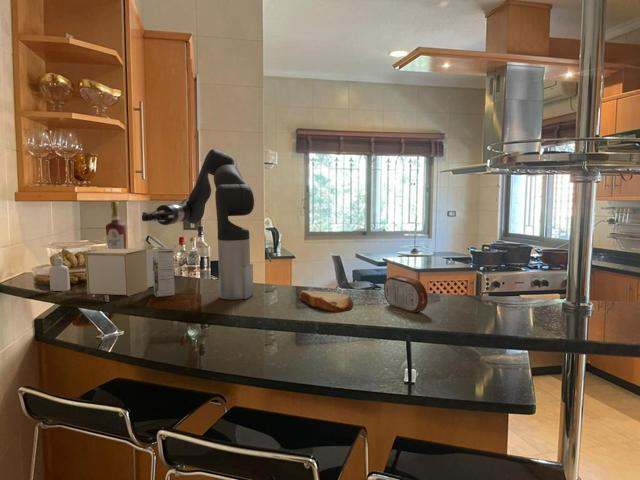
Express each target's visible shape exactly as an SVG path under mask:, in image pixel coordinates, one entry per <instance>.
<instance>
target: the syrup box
mask: <svg viewBox="0 0 640 480" xmlns="http://www.w3.org/2000/svg"><path fill="white" fill-rule="evenodd" d="M152 249H153V284H154V286H153V294H154V296H155V297H156V298H162V297H169V296H175V294H176V292H175V289H176V288H175V262H174V261H175V260H174V257H175V256H174V248H172V247H171V246H157V247H152Z"/></svg>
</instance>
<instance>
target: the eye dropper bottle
mask: <svg viewBox="0 0 640 480" xmlns="http://www.w3.org/2000/svg"><path fill="white" fill-rule="evenodd" d="M63 258H64V257H63ZM63 258H62V257H61V256H60V254H59V253H56V257H55V258H54V259H53V264H54V265H53V266H51V267H49V269H48V270H49V271H48V272H49V274H48V275H49V276H48V277H49V287H50V288H49V289H50V291H51V290H53V291H62V292H69V291H70V290H71V282H70V279H71V278H70V270H69V267H68V266H66V265H64V261H63Z"/></svg>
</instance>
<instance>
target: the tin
mask: <svg viewBox="0 0 640 480" xmlns="http://www.w3.org/2000/svg"><path fill="white" fill-rule="evenodd" d="M383 291H384V297H385V300H386V301H387V303H388V304H389V305H390V306H391V307H393V308H396V309H399V310H403V311H405V312H408V313H413V314H414V313H418V312H419V313H420V312H423V311H424V310H425V309H426V308H427V306H428V301H429V300H428V299H429V298H428V292H427V290H426V287H425V285H424V284H423V283H422V282H421V281H419V280H418V279H414V278H411V277H407V276H403V275H398V274H396V275H394V276H393V275H392V276H389V277H387V278H386V279H385V281H384V283H383Z"/></svg>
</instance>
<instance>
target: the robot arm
mask: <svg viewBox="0 0 640 480" xmlns="http://www.w3.org/2000/svg"><path fill="white" fill-rule="evenodd" d="M209 175H211V176H213V183H214V186H215V187H214V188H215V192H214V193H215V197H214V198H215V209H216V220H217V221H216V222H217V223H216V224H217V255H218V257H217V258H218V260H217V261H218V284H219V287H218V288H219V289H218V291H219V298H220V299H223V300H232V301H233V300H247V299H248V298H250V297H252V296H253V295H254V268H253V266H254V265H253V263H251V250H250V249H251V246H250V230H249V229H248V228H247V227H242V226H239V225H237V224H235V223H233V222H232V221H230V219H229V217H239V216H240V217H241V216H243V217H244V216H249V215H250V214H251V213H252V212H253V209H254V207H255V197H254V193H253V191H252V189H251V187H250V185H249V184H248V183H247V182H245V180H244V179H243V176H242V174H241V173H240V171H239V168H238V165H237V160H236V158H235V156H233V155H230V154H228V153H225V152H224V151H220V150H218V149H215V148H213V149H210V150H209V151H208V152H207V154H206V156H205V158H204V161H203V163H202V166H201V168H200V171H199V173H198V176H197V180H196V182H195V185H194V187H193V189H192V190H191V192H190V194H189V196H188V198H186V199H183V200H182V201H181V202H180V203H176V204H175V203H170V204H169V203H168V204H160V205H159V206H158V207H157V208H156V209H155V210H152V211H149V212H146V211H142V213H141V214H142V215H141V221H142V222H149V221H150V222H157V223H158V224H160V225H163V226H169V225H172V224H173V225H174V224H178V223H181V222H186V221H187V222H189V223H190V224H192V225H193V224H197V223H199V222H200V221H201V220H202V219H203V218H204V214H205V208H206V204H207V202H208V201H209V199H210V197H211V195H212V187H211V183H210V180H209Z"/></svg>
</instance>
